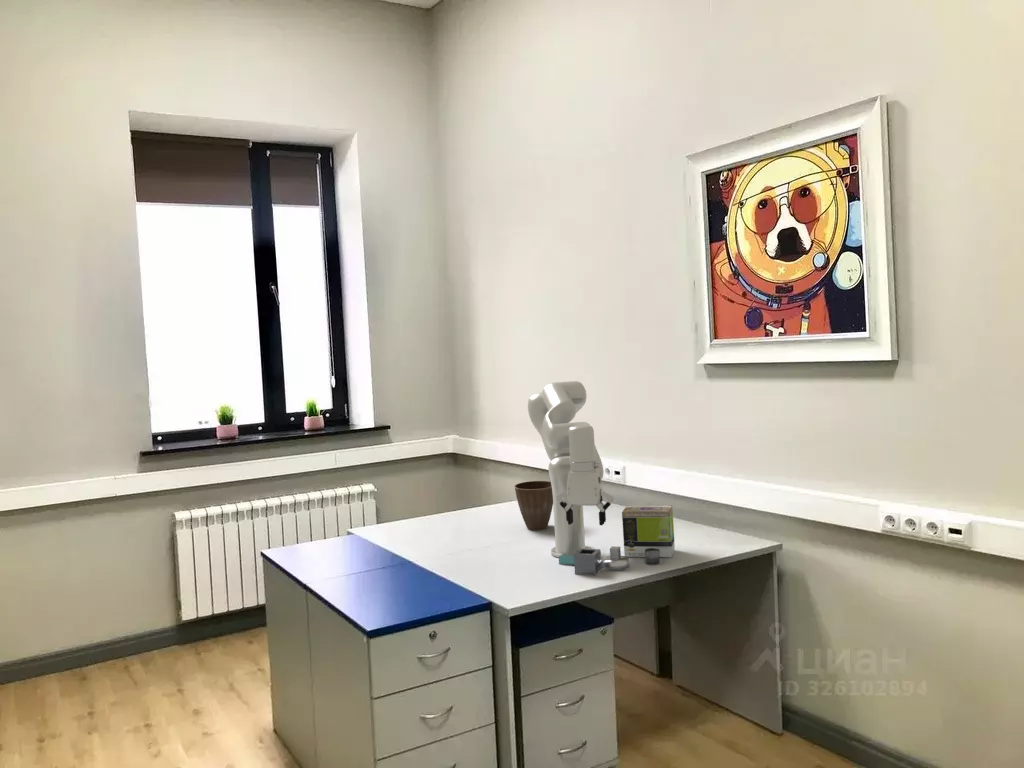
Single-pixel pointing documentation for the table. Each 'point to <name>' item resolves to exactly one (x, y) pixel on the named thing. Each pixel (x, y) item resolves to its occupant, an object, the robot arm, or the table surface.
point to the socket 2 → (652, 556)
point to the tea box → (648, 530)
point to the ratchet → (603, 560)
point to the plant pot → (535, 503)
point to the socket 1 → (587, 561)
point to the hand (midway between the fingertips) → (586, 524)
